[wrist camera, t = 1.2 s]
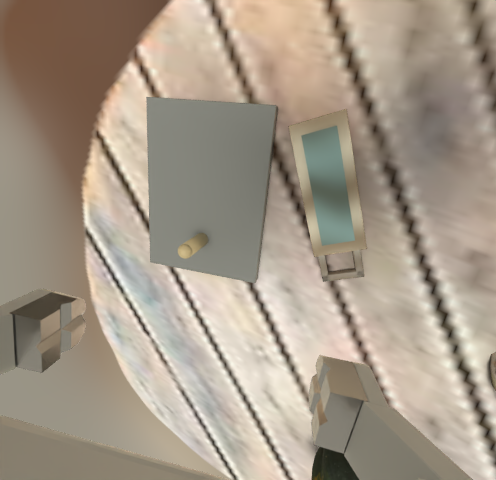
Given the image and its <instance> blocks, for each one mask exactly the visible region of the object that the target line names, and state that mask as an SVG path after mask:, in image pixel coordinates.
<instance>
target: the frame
mask: <svg viewBox="0 0 496 480" xmlns="http://www.w3.org/2000/svg"><path fill="white" fill-rule="evenodd" d="M288 127H289V132H290V137H291V142H292V147H293V152H294V157H295V162H296V167H297V172H298V177H299V182H300V188H301V193H302V198H303V203H304V208H305V213H306V218H307V223H308V228H309V233H310V238H311V243H312V248H313V254H314V257H317V256H318V258H319V263H320V268H321V273H322V279H323V282H324V281H332V280H341V279H349V278H357V277H364V272H363V265H362V259H361V252H360V250H363V249H367V246H366V239H365V232H364V225H363V218H362V212H361V205H360V198H359V191H358V184H357V177H356V171H355V164H354V157H353V150H352V143H351V136H350V130H349V123H348V116H347V109H344V110H341V111H338V112H334V113H331V114H328V115H324V116H321V117H318V118H314V119H311V120H308V121H304V122H301V123H298V124H294V125H291V126H288ZM350 251H353V257H354V264H355V269H348V270H340V271H333V272H328V270H327V264H326V259H325V255H330V254H337V253H343V252H350Z"/></svg>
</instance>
